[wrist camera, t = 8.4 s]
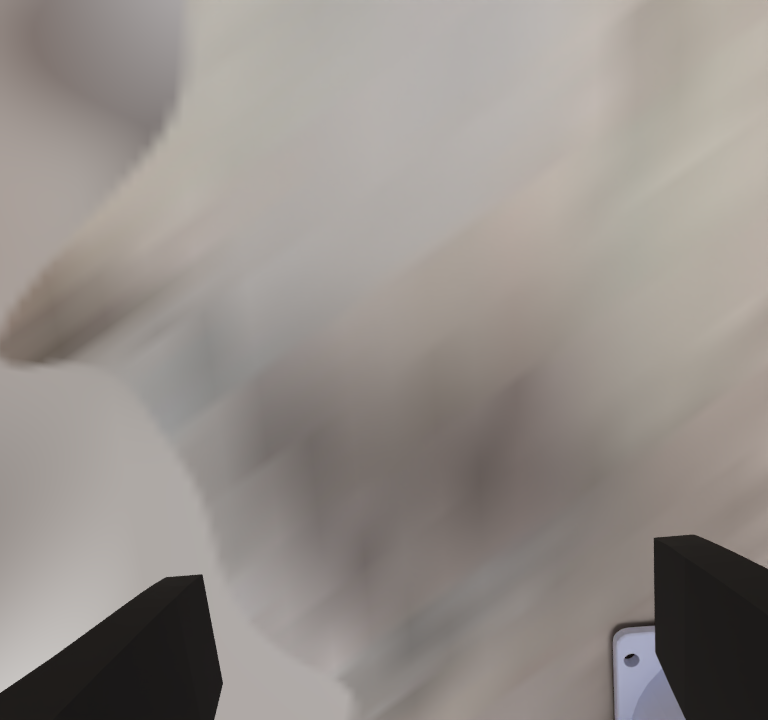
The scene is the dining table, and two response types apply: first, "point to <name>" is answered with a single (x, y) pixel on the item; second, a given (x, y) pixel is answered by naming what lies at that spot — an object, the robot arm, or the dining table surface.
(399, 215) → the dining table surface
